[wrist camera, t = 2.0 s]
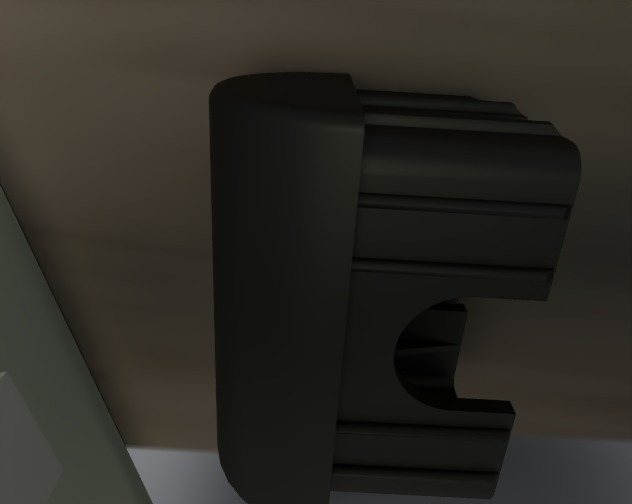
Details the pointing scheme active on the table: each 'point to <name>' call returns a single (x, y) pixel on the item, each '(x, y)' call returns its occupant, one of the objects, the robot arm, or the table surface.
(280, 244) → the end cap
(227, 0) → the table surface
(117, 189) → the table surface
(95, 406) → the organizer tray
